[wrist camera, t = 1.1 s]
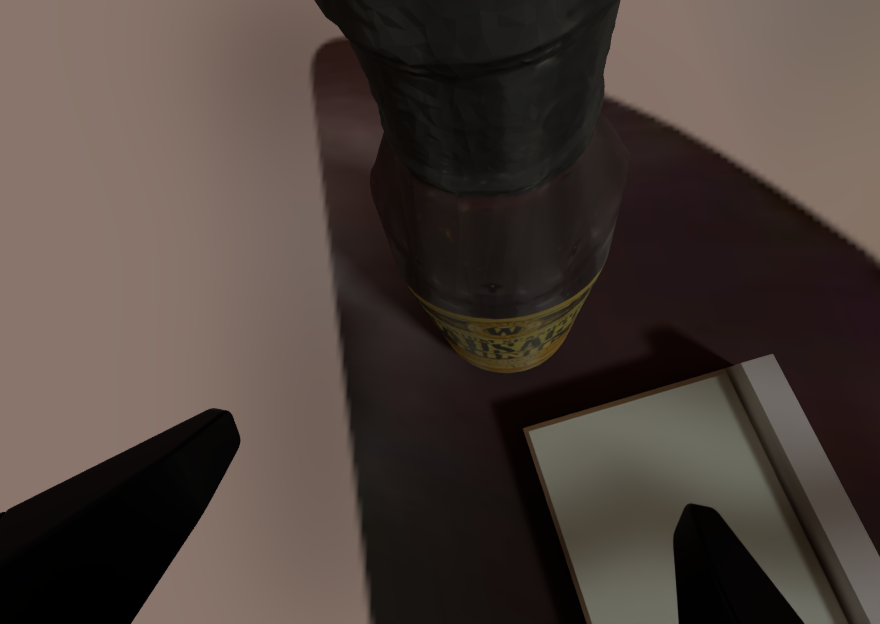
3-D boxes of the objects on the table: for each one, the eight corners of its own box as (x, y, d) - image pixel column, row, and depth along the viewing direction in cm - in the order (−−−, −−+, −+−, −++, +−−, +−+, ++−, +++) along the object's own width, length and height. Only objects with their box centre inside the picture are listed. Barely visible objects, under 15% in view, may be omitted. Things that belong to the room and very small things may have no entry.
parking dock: (886, 671, 17) (969, 728, 13) (621, 727, 18) (641, 791, 15) (735, 365, 20) (772, 353, 17) (523, 428, 21) (522, 428, 18)
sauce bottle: (448, 379, 23) (26, 129, 4) (447, 264, 24) (148, -311, 5) (581, 375, 21) (942, -22, 3) (571, 255, 23) (745, -537, 4)
